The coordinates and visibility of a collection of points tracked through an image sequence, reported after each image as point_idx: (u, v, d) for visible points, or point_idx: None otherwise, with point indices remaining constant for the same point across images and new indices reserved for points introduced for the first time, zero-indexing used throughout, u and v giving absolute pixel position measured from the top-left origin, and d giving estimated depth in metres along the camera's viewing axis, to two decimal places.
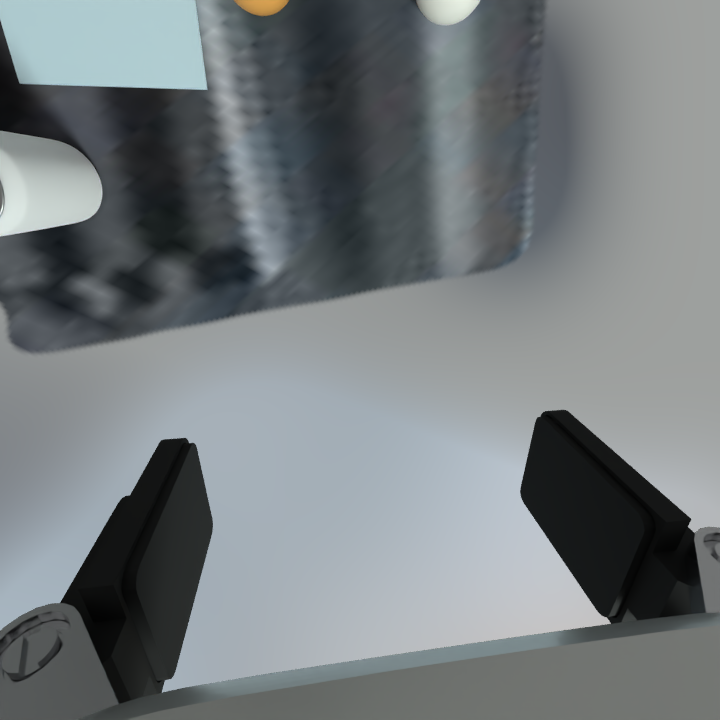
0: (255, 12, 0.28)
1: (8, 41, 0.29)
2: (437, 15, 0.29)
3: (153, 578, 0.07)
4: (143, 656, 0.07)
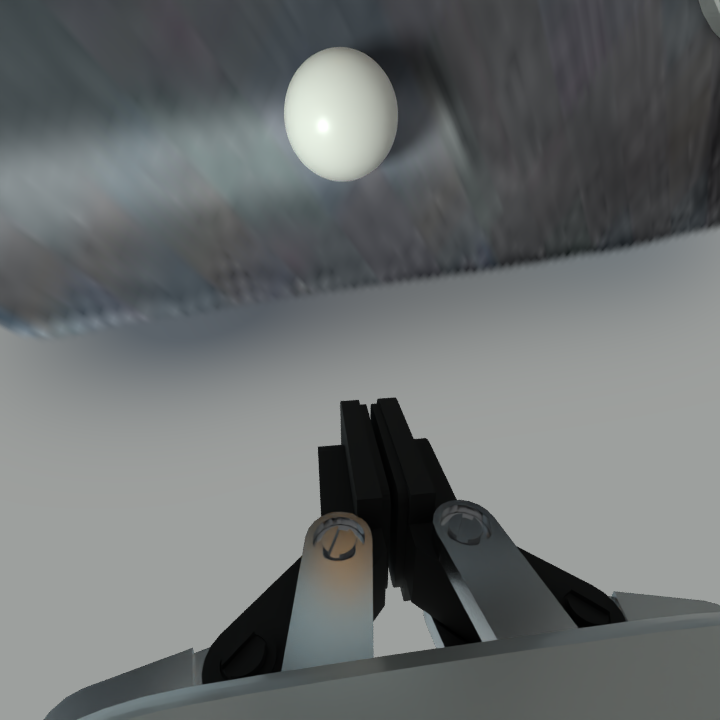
0: None
1: None
2: (287, 92, 0.18)
3: None
4: None
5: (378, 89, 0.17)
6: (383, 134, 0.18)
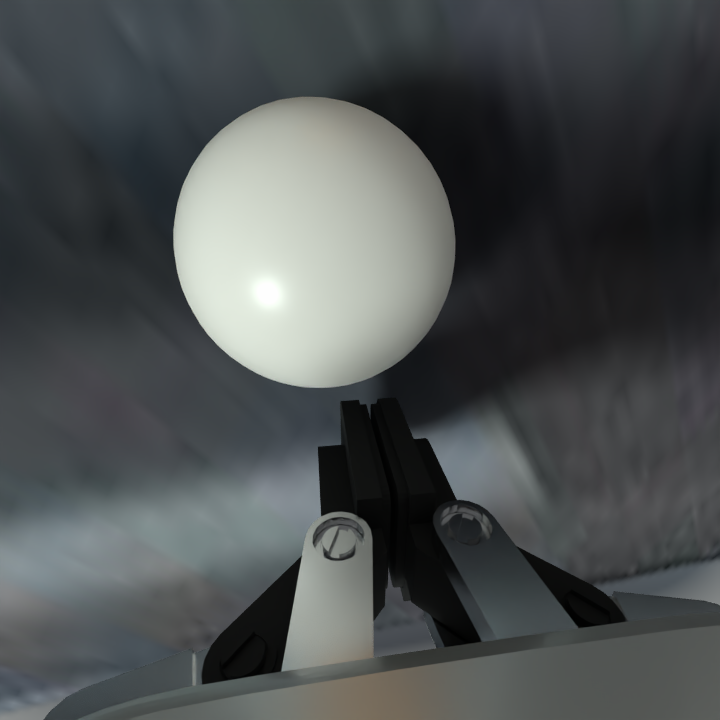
0: None
1: None
2: None
3: None
4: None
5: None
6: None
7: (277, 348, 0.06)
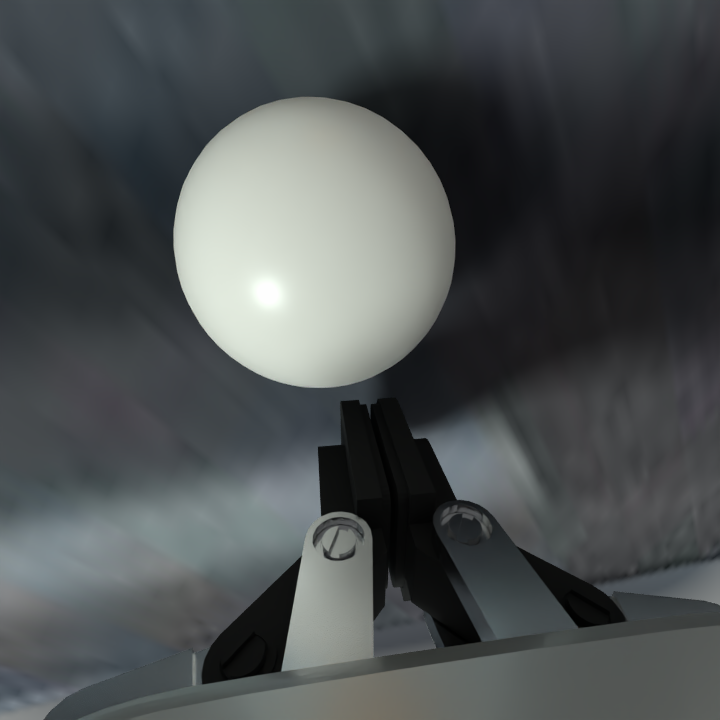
0: None
1: None
2: None
3: None
4: None
5: None
6: None
7: (277, 348, 0.06)
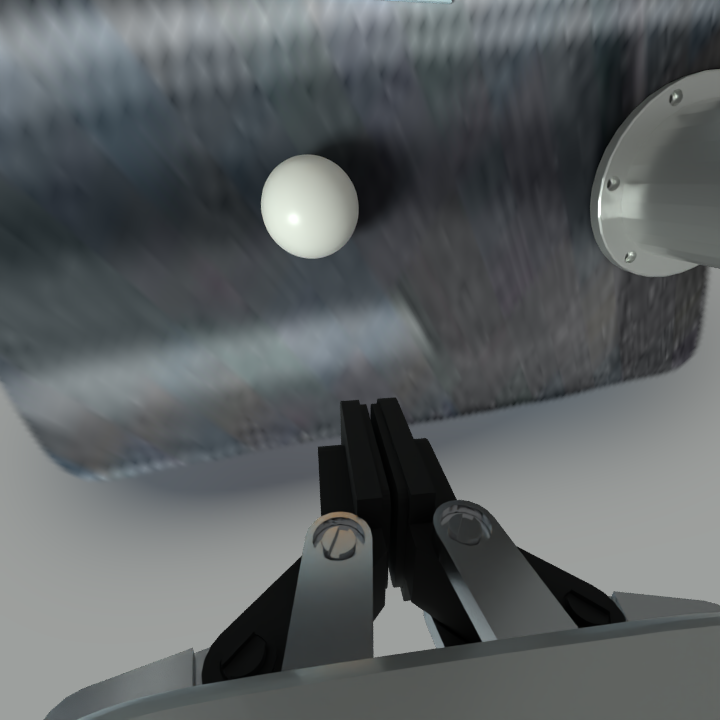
0: None
1: None
2: None
3: None
4: None
5: None
6: None
7: (296, 232, 0.20)
